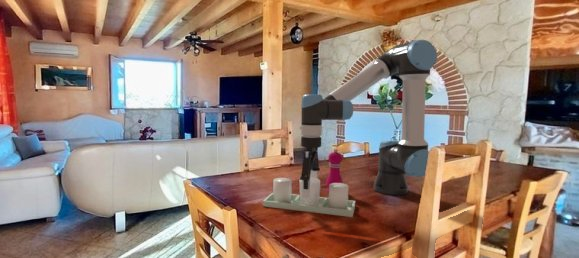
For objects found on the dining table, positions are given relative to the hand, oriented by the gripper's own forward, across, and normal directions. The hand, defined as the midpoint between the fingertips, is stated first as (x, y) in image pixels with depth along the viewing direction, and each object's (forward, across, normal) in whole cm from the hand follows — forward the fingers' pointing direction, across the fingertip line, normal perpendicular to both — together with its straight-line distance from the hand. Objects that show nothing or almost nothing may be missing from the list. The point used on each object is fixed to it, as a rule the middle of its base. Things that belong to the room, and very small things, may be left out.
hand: (310, 192), depth 118 cm
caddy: (+6, 0, 0) cm, 6 cm away
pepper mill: (+6, -21, +6) cm, 23 cm away
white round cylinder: (+5, 0, +11) cm, 12 cm away
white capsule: (+5, 0, -11) cm, 12 cm away
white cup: (+5, 0, 0) cm, 6 cm away
